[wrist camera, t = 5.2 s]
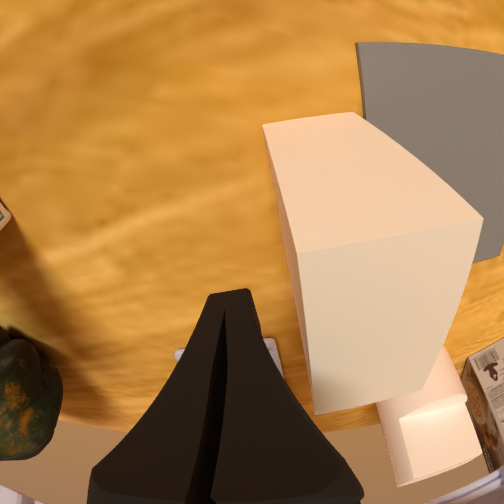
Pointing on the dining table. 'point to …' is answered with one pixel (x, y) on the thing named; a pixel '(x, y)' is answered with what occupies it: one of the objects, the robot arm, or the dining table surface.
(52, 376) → the squash
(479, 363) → the coffee box
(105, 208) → the dining table surface
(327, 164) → the slab
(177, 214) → the dining table surface
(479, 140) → the mat
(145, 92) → the dining table surface
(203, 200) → the dining table surface
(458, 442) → the cylinder with rectangular tab
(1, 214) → the syrup box
